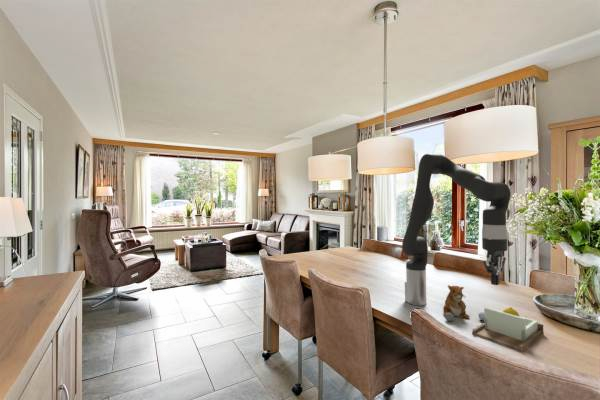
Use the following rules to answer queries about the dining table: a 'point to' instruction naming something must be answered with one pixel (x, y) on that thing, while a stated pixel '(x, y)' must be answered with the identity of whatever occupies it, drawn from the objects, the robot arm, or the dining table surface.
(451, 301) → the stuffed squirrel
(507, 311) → the lemon
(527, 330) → the pale green block
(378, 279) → the dining table surface
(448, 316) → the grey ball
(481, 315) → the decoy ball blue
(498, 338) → the rail board
